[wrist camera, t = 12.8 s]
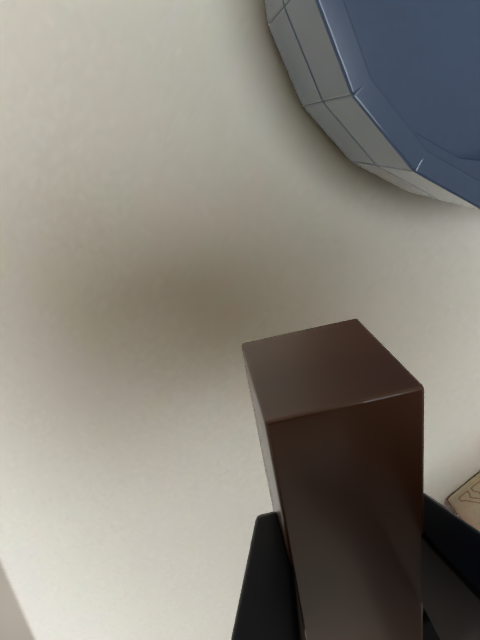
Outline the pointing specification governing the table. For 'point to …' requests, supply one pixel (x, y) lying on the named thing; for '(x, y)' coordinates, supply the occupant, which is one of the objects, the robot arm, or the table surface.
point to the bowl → (391, 86)
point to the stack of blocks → (468, 502)
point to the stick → (344, 477)
